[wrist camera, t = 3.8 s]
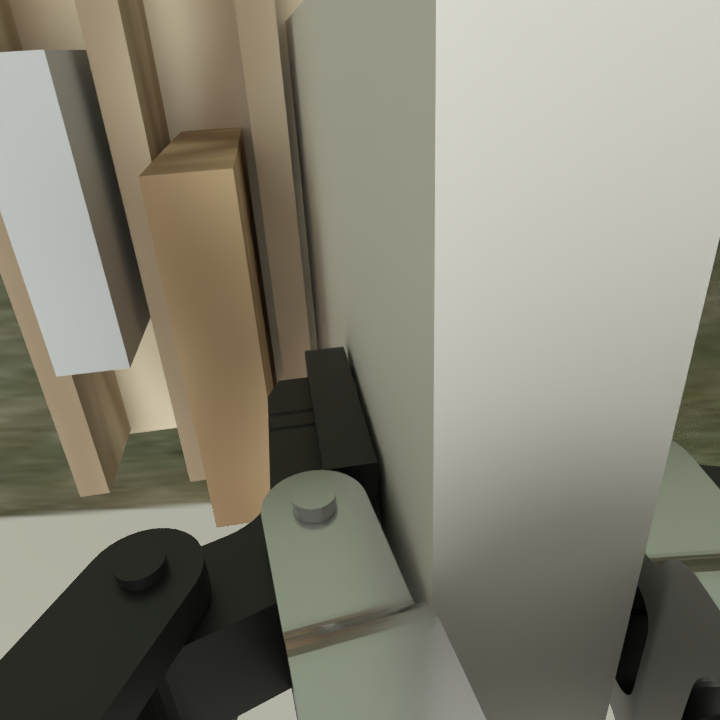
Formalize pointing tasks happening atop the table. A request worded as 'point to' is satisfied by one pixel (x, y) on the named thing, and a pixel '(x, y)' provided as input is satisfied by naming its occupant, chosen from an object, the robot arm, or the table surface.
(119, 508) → the table surface
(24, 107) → the offcut grey
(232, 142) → the offcut oak
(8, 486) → the table surface
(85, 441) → the rack
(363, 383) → the sheet
